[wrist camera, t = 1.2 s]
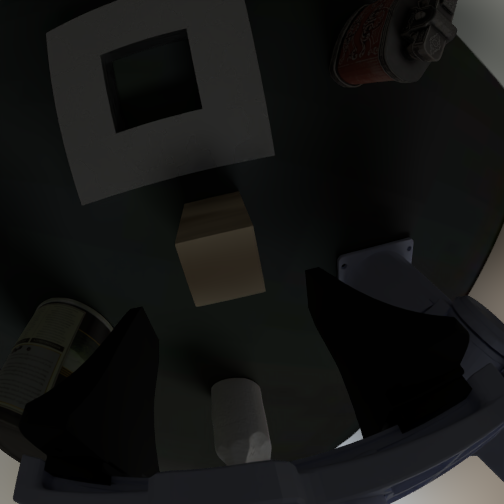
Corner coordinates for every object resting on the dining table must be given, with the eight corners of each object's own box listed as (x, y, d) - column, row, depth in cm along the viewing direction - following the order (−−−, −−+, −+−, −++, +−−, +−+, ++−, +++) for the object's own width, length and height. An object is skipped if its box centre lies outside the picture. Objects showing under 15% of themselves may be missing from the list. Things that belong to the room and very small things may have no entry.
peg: (248, 240, 23) (265, 291, 16) (198, 252, 22) (196, 306, 16) (238, 191, 21) (253, 226, 14) (184, 203, 21) (174, 244, 14)
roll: (293, 478, 20) (254, 495, 22) (270, 387, 31) (240, 409, 32) (243, 474, 18) (205, 489, 19) (228, 370, 29) (199, 395, 30)
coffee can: (137, 330, 25) (113, 470, 12) (105, 383, 28) (85, 492, 15) (43, 276, 21) (-33, 394, 9) (28, 341, 24) (-17, 441, 11)
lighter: (357, 96, 18) (451, 96, 10) (319, 73, 17) (403, 52, 9) (390, 22, 16) (477, -1, 7) (356, -1, 15) (436, -42, 6)
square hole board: (267, 150, 20) (274, 155, 17) (94, 195, 19) (82, 205, 17) (234, -13, 14) (237, -27, 11) (61, 39, 13) (46, 33, 11)
